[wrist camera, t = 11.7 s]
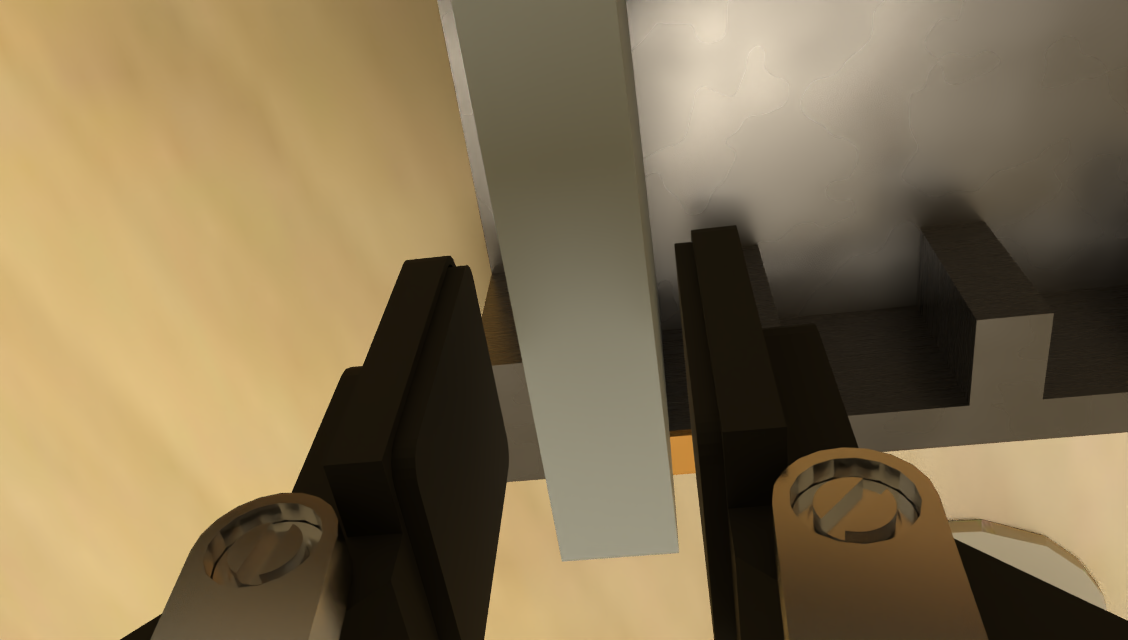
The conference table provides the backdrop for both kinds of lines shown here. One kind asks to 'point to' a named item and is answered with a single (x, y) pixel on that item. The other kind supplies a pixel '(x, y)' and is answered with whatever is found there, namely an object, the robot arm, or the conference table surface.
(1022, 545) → the wireless router
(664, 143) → the rack
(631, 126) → the panel
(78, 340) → the conference table surface
